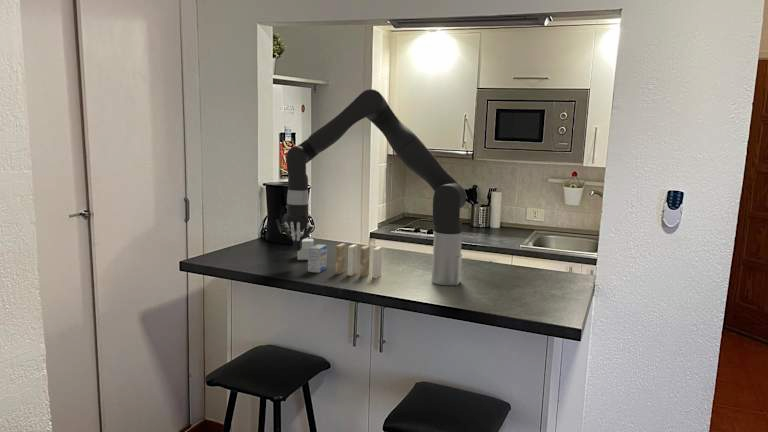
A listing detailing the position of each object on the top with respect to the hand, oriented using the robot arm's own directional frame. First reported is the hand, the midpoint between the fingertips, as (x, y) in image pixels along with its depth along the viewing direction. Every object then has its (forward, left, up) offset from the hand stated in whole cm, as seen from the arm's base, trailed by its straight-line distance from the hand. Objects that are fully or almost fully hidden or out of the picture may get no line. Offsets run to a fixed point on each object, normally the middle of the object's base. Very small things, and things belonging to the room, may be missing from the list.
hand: (297, 250), depth 210 cm
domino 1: (-17, 0, -6) cm, 18 cm away
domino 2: (-21, 0, -6) cm, 22 cm away
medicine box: (-8, 0, -7) cm, 10 cm away
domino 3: (-26, 0, -6) cm, 26 cm away
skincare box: (+4, -16, -7) cm, 18 cm away
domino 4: (-30, 0, -6) cm, 31 cm away
